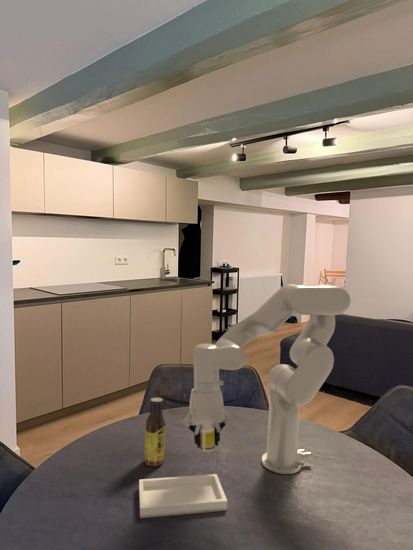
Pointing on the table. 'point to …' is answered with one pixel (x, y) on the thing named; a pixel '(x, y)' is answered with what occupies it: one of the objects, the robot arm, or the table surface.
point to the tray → (181, 495)
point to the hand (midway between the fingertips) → (207, 444)
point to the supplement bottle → (207, 437)
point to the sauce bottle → (155, 434)
